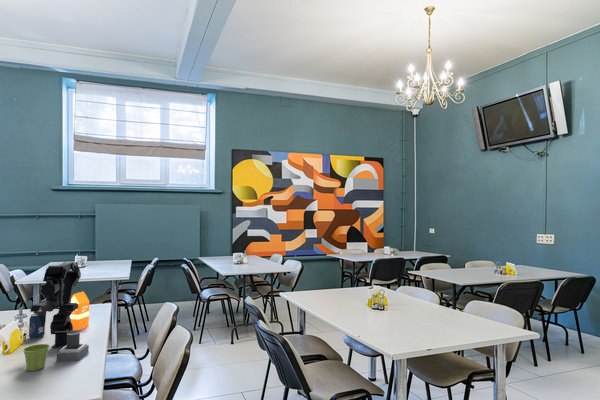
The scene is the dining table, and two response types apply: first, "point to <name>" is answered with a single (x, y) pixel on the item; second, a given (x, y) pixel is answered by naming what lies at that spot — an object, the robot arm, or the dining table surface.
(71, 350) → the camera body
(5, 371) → the dining table surface
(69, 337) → the lens
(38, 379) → the dining table surface
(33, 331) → the soda can
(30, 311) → the robot arm
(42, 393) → the dining table surface
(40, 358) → the plant pot
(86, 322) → the orange juice
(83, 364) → the dining table surface
